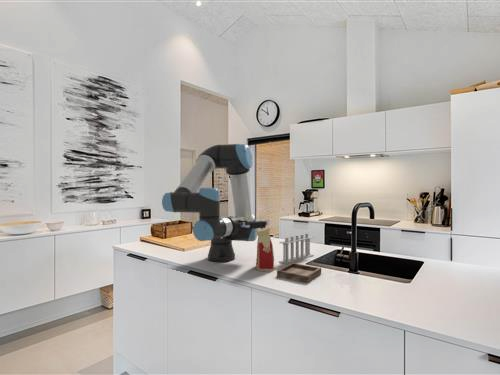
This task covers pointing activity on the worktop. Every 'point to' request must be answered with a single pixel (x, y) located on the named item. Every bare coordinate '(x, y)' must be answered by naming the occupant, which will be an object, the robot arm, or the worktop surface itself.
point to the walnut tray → (299, 272)
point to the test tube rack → (286, 248)
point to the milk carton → (264, 251)
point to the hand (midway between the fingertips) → (255, 221)
